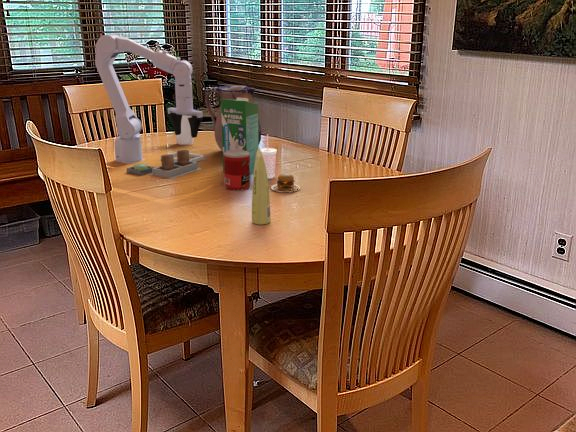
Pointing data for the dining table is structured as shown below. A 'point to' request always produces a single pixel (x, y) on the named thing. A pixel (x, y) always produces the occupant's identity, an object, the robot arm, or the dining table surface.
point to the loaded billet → (167, 162)
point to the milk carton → (240, 127)
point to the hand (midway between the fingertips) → (186, 135)
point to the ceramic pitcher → (231, 94)
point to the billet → (183, 157)
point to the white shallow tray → (195, 157)
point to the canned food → (237, 169)
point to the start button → (140, 166)
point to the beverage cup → (269, 160)
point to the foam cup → (185, 132)
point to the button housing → (138, 172)
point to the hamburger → (285, 182)
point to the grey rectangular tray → (175, 170)
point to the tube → (260, 192)
